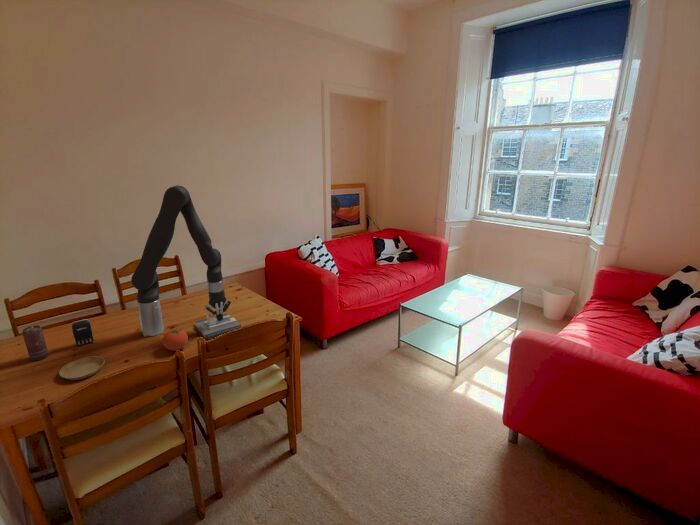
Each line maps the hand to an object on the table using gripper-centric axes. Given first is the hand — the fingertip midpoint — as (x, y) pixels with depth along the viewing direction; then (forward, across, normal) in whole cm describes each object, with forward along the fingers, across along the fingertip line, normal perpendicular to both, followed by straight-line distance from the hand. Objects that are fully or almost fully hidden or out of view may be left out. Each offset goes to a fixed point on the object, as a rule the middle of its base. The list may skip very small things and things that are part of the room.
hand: (220, 320), depth 178 cm
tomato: (+3, -23, -9) cm, 25 cm away
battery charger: (+2, -55, +20) cm, 59 cm away
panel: (+4, -1, 0) cm, 4 cm away
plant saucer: (+3, -57, -5) cm, 57 cm away
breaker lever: (+1, -4, 0) cm, 4 cm away
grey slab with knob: (+4, -1, 0) cm, 4 cm away
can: (+2, -71, +18) cm, 74 cm away
